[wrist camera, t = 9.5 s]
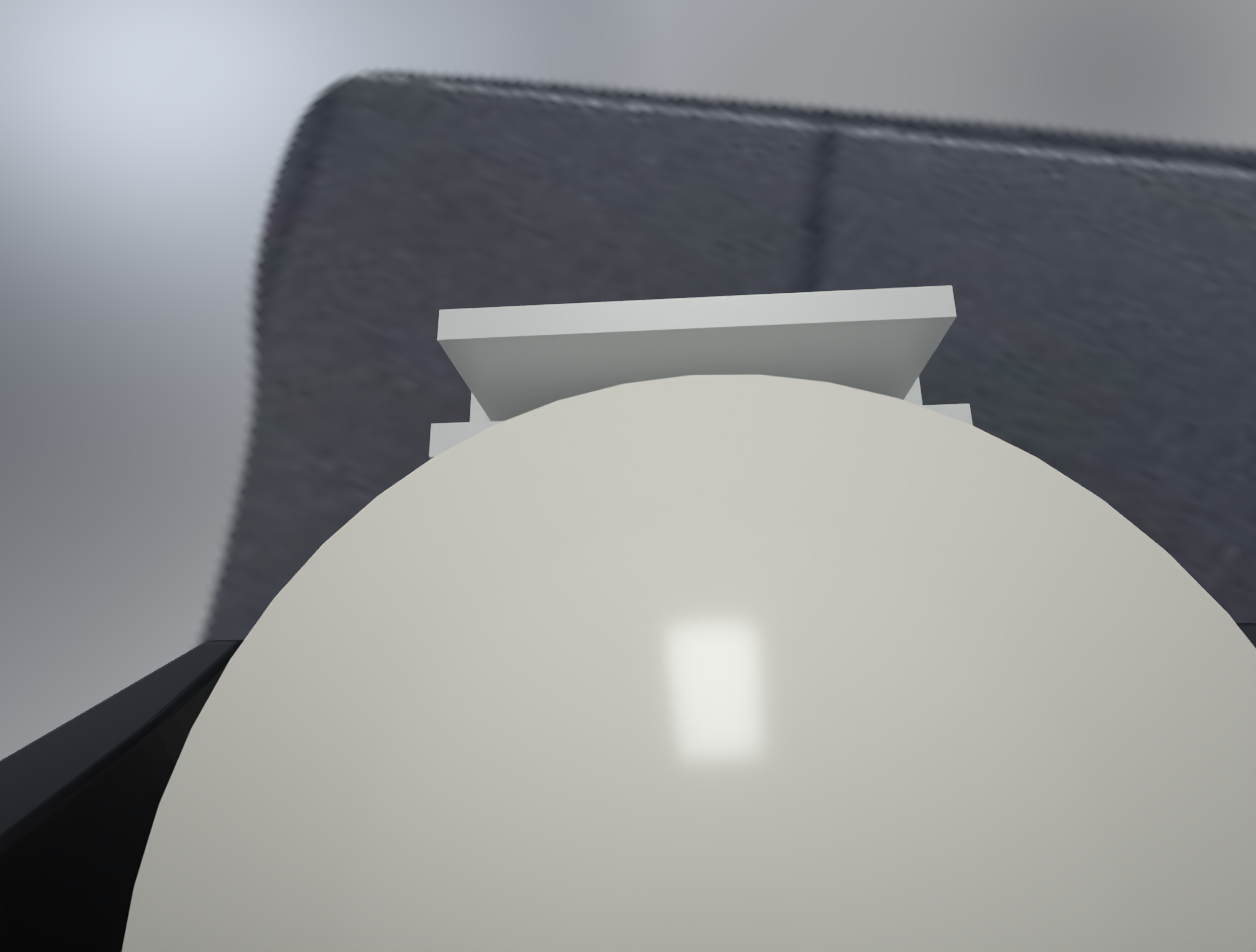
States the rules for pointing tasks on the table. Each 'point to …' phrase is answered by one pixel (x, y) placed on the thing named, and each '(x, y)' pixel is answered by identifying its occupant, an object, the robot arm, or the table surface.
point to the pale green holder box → (691, 346)
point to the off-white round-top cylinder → (721, 704)
